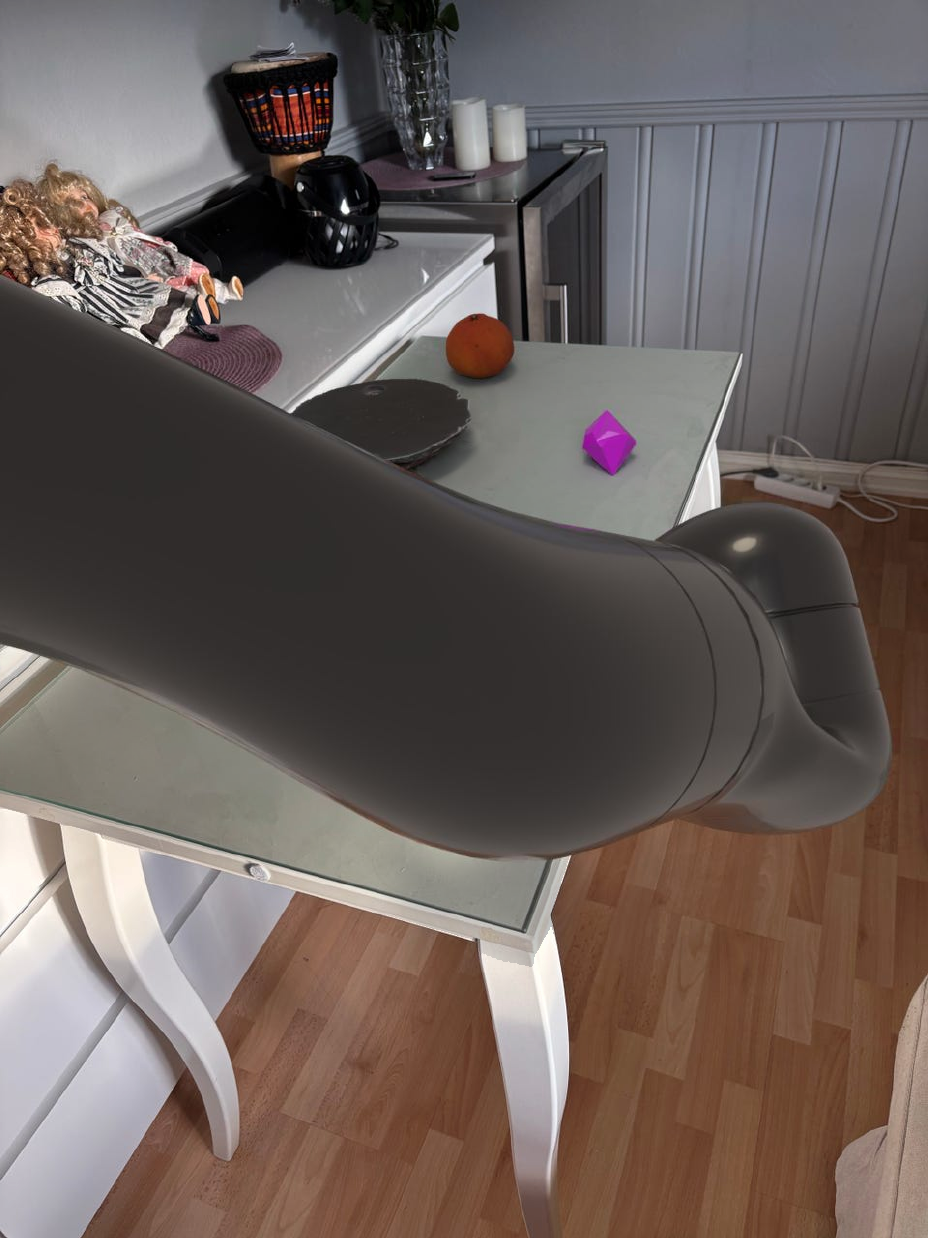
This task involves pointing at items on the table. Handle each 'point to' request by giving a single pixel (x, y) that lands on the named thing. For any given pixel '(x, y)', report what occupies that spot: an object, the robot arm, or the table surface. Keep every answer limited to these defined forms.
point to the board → (391, 417)
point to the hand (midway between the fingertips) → (447, 746)
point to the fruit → (479, 346)
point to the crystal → (608, 442)
